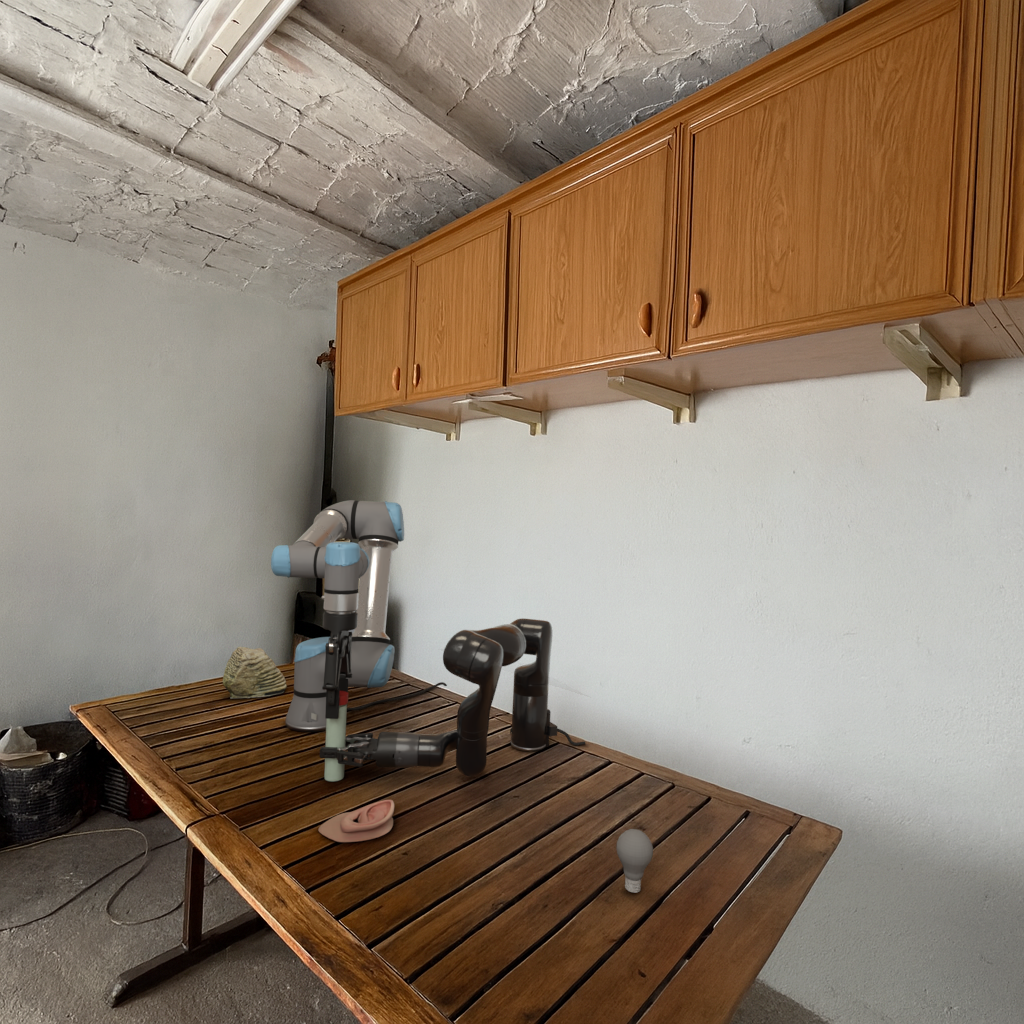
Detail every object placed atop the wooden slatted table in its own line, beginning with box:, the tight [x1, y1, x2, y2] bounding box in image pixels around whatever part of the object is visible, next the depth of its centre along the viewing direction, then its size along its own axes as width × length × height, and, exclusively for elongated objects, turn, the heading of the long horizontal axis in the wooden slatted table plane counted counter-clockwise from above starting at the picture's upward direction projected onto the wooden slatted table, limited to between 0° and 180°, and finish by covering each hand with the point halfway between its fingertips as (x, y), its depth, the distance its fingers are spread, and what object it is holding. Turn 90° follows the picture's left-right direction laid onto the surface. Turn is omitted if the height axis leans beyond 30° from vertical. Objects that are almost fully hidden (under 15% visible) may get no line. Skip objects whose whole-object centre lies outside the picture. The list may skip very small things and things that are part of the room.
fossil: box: [222, 646, 288, 699], centre depth 198 cm, size 9×18×15 cm, turn 132°
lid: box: [339, 691, 349, 706], centre depth 143 cm, size 5×5×2 cm
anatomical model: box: [317, 799, 395, 843], centre depth 122 cm, size 13×4×12 cm
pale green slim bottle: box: [323, 703, 348, 782], centre depth 143 cm, size 4×4×18 cm
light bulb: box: [615, 828, 654, 894], centre depth 106 cm, size 6×6×10 cm
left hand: (336, 712), depth 143 cm, fingers open, 7 cm apart
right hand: (323, 748), depth 143 cm, fingers closed on pale green slim bottle, 4 cm apart
